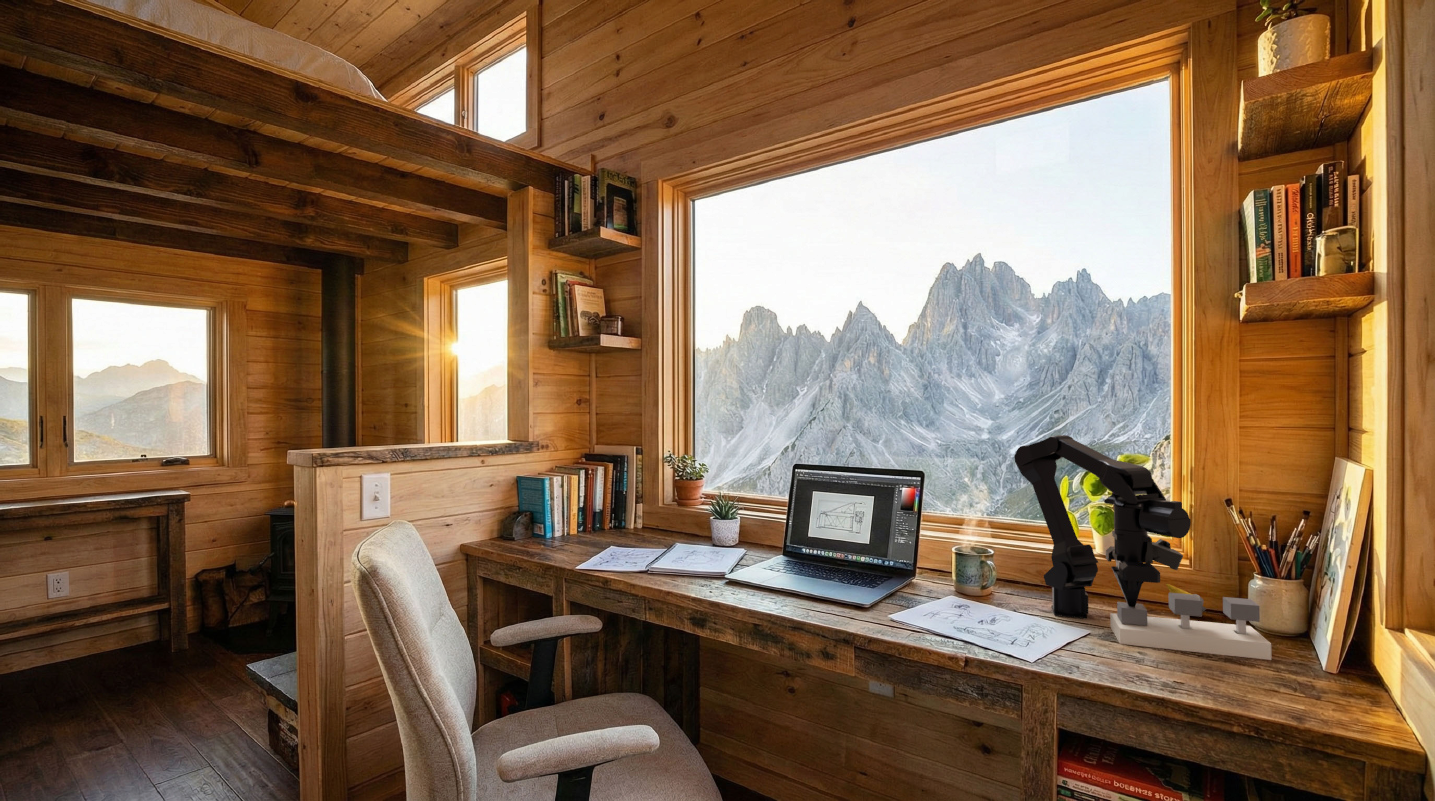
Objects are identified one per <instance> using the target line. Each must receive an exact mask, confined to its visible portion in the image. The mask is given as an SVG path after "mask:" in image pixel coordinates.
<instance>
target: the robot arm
mask: <svg viewBox="0 0 1435 801" xmlns="http://www.w3.org/2000/svg"><path fill="white" fill-rule="evenodd" d="M1013 458H1014V462H1015V464H1016V466H1017V469H1018V470H1019V472H1020V474H1021V475H1022V476H1023V477H1024V479H1026V480H1027V481H1028V482H1029V483H1030V484H1031V486H1032V488H1033V491H1034V494H1035V496H1036V498H1037V501H1038V504H1039V506H1040V507H1039V508H1040V509H1041V512H1042V513H1041V514H1042V515H1043V518H1044V521H1045V524H1046V526H1047V530H1048V531H1049V534H1050V537H1051V541H1052V542H1053V546H1052V552H1051V561H1052V567H1051V568H1050V569H1049V570H1048V571H1047V572H1046V573H1044V574H1043V579H1044V583H1045V586H1047V587H1050V588H1051V590H1052V596H1051V597H1052V604H1051V605H1050V606H1051V607H1050V608H1051V610H1052V613H1053V615H1054V616H1056V617H1063V618H1064V617H1065V618H1075V619H1076V618H1077V619H1088V616H1087V615H1089V595H1088V593H1087V592H1086V587H1092V585H1093V582H1094V580H1095V578H1096V576H1097V573H1098V572H1099V568H1098V563H1099V561H1098V560H1097V558H1096V556H1095V552H1094V549H1093V547H1092V545H1091V544H1084V543H1083V542H1081V541H1080V540H1079V539H1078V537H1077V535H1076V532H1075V529H1074V526H1073V524H1072V520H1071V519H1070V516H1069V514H1068V511H1067V508H1066V505H1065V503H1064V500H1063V497H1062V495H1061V493H1060V490H1059V487H1058V485H1057V482H1056V474H1057V469H1058V465H1057V461H1059V460H1060V459H1065V460H1066V461H1068V462H1071V463H1072V464H1074V465H1076V466H1078V467H1080V468H1082V469H1083V470H1085V471H1087V472H1089V473H1090V474H1093V476H1096V477H1097V478H1098V479H1099V480H1100V482H1101V484H1102V485H1103V487H1105V488H1106V489H1108V491H1110V493H1111V494H1110V496H1108V497H1106V498H1105V499H1104V501H1103V502H1104V504H1106V505H1111V506H1112V505H1113V525H1114V526H1113V528H1114V529H1113V530H1112V531H1111V532H1112V533H1111V534H1112V537H1113V539H1114V542H1113V543H1114V546H1113V545H1111V546H1109V547H1108V548H1106V549H1105V559H1106V561H1107V562H1112V560H1114V561H1115V566H1113V565H1112V566H1111V567H1110V568H1111V570H1112V571H1113V574H1114V576H1115V579H1116V581H1117V583H1118V585H1119V587H1120V590H1121V592H1122V594H1123V597H1124V599H1125V601H1126V603H1128V605H1129V606H1133V607H1135V605H1136V603H1138V599H1139V596H1140V592H1141V589H1142V586H1143V584H1144V583H1153V584H1158V583H1161V572H1160V571H1159V570H1158V569H1157V568H1156V567H1155V566H1154V565H1153V564H1154V562H1156V563H1159V564H1161V565H1164V566H1167V567H1169V568H1170V569H1172V570H1175V571H1177V570H1178V569H1179V566H1180V564H1181V563H1182V560H1183V558H1184V554H1182V553H1180V552H1179V551H1178V550H1176V549H1174V548H1172V546H1171V543H1170V542H1169V541H1167V540H1164V539H1162V538H1160V539H1158V540H1157V541H1153V539H1152V538H1151V536H1149V534H1150V533H1151V534H1155V535H1158V536H1159V535H1160V536H1163V537H1170V538H1176V539H1183V538H1185V537H1186V536H1187V534H1188V533H1189V532H1190V529H1191V525H1192V523H1191V522H1192V521H1191V518H1190V516H1189V513H1188V511H1187V510H1185V509H1184V508H1183V502H1182V501H1178V500H1177V501H1176V500H1172V501H1170V500H1167V498H1166V497H1165V495H1164V494H1163V492H1162V491H1161V489H1160V488H1159V486H1158V485H1157V484H1156V481H1154V479H1153V476H1152V473H1151V471H1150V470H1149V469H1148V468H1147V467H1144V466H1141V465H1138V464H1135V463H1132V462H1126V461H1121V460H1117V459H1113V458H1111V457H1109V456H1107V455H1105V454H1102V453H1101V452H1099V451H1097V450H1095V449H1093V448H1091V447H1089V446H1087V445H1085V444H1083V443H1081V442H1080V441H1078V440H1076V439H1074V438H1073V437H1072V436H1070V435H1066V434H1063V435H1061V434H1058V435H1051V436H1050V437H1047V438H1045V439H1043V440H1040V441H1037V442H1034V443H1031V444H1028V445H1022V446H1018V448H1017V449H1016V451H1015V454H1014V457H1013ZM1148 533H1149V534H1148Z"/></svg>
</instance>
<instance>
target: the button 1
mask: <svg viewBox="0 0 1435 801" xmlns="http://www.w3.org/2000/svg"><path fill="white" fill-rule="evenodd" d="M1116 605H1117V608H1116V612H1117V613H1116V614H1117V616H1118V618H1119V620H1120V621H1121V623H1126V624H1137V625H1147V616H1148V609H1147V608H1146V607H1145V606H1144V604H1143V603H1138V602H1136V605H1135V607H1133V606H1129V605H1128V603H1127V601H1126V602H1125V601H1117V602H1116Z"/></svg>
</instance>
